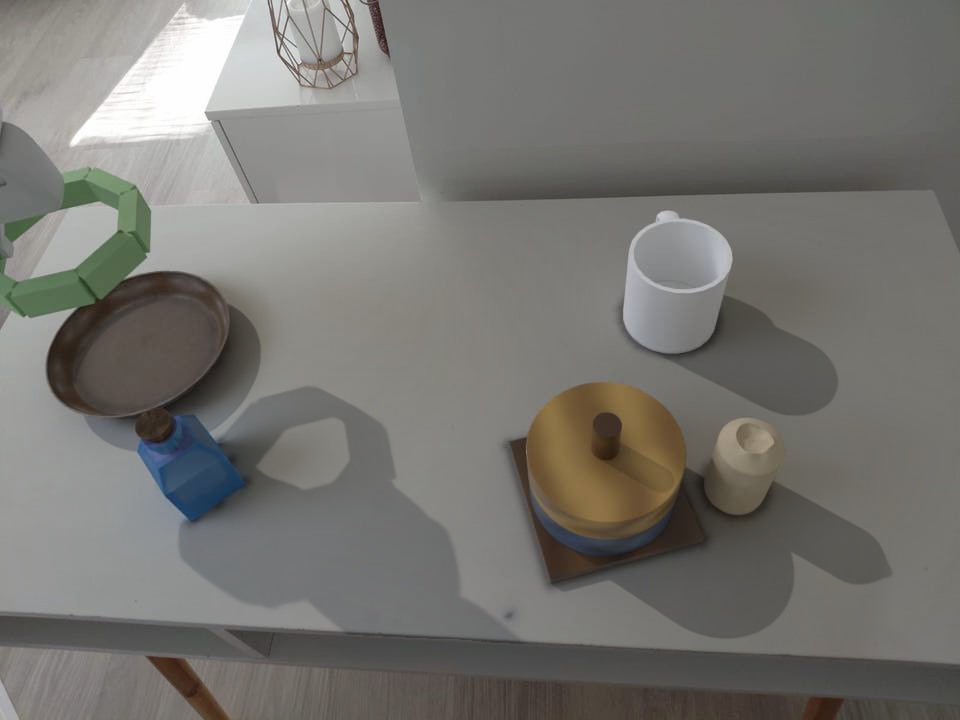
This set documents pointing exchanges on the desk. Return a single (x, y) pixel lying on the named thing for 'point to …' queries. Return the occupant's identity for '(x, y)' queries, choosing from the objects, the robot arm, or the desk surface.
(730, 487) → the candle
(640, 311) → the mug
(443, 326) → the desk surface
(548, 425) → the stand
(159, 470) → the perfume bottle
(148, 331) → the plant saucer
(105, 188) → the ring
